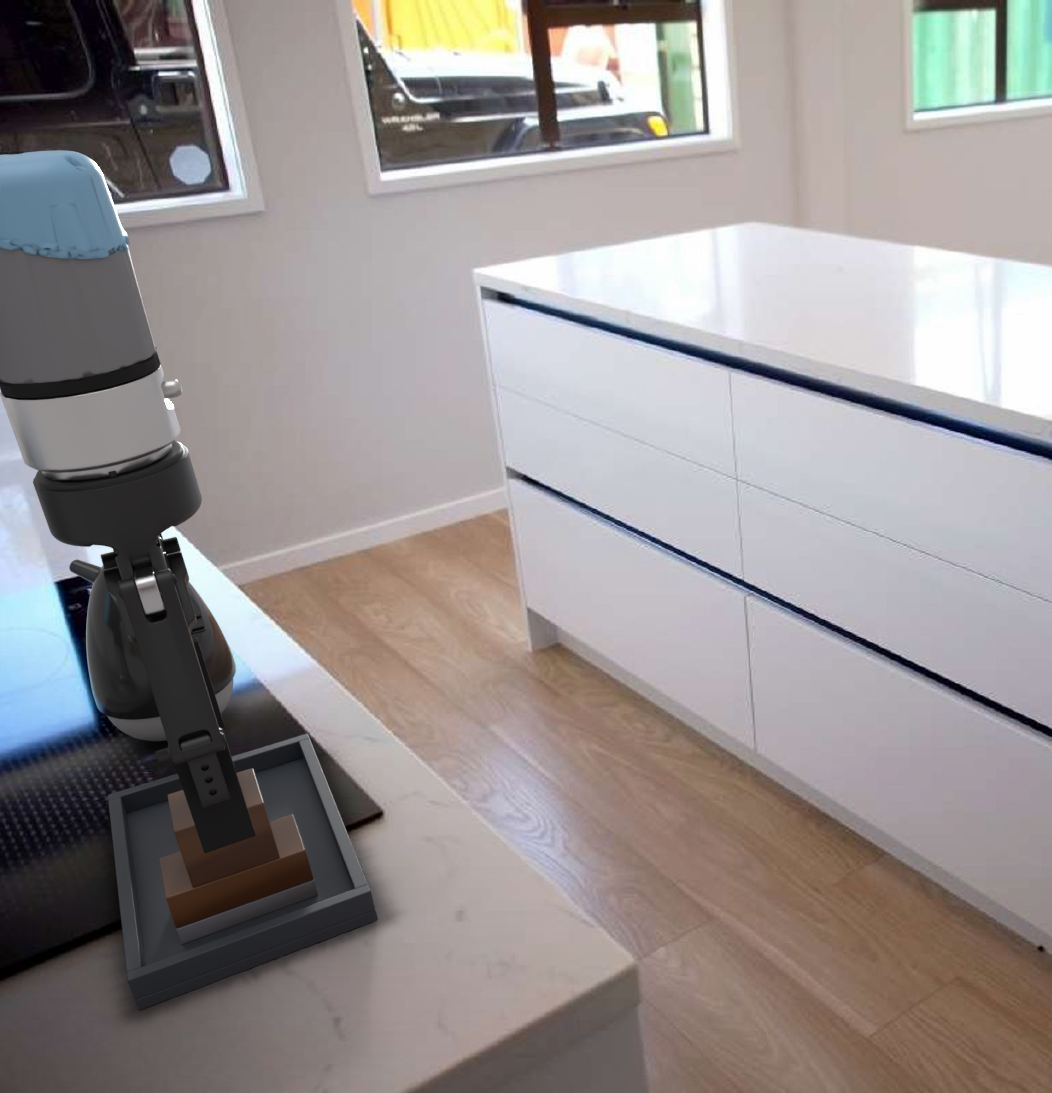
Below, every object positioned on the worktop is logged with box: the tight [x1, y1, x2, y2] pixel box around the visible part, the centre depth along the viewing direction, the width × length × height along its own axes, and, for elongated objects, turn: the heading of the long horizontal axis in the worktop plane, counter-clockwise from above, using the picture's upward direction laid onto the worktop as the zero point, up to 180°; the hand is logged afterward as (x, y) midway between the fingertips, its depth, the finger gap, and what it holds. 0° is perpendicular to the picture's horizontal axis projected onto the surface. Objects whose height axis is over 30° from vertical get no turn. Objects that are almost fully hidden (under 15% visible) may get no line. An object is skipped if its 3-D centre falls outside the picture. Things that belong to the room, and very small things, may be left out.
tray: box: [107, 733, 379, 1011], centre depth 83 cm, size 22×14×2 cm, turn 31°
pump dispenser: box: [68, 559, 237, 742], centre depth 98 cm, size 10×10×15 cm
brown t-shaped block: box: [160, 768, 318, 944], centre depth 77 cm, size 4×8×8 cm, turn 120°
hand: (215, 784), depth 75 cm, fingers open, 13 cm apart
